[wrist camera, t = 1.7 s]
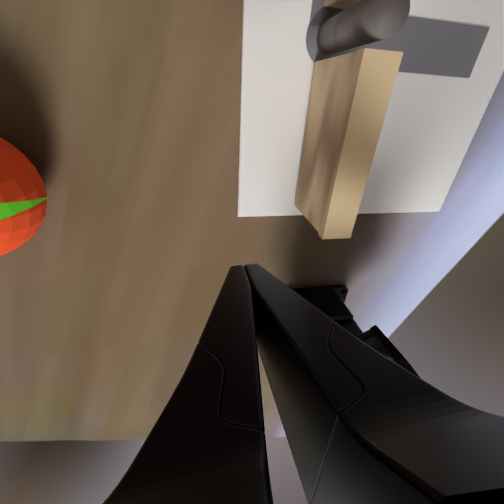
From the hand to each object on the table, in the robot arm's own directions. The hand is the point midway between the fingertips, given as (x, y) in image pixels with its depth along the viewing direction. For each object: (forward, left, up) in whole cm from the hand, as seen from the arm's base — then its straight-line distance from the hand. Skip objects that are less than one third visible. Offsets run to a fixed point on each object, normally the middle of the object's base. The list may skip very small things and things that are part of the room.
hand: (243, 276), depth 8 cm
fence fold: (+2, -6, -11) cm, 13 cm away
